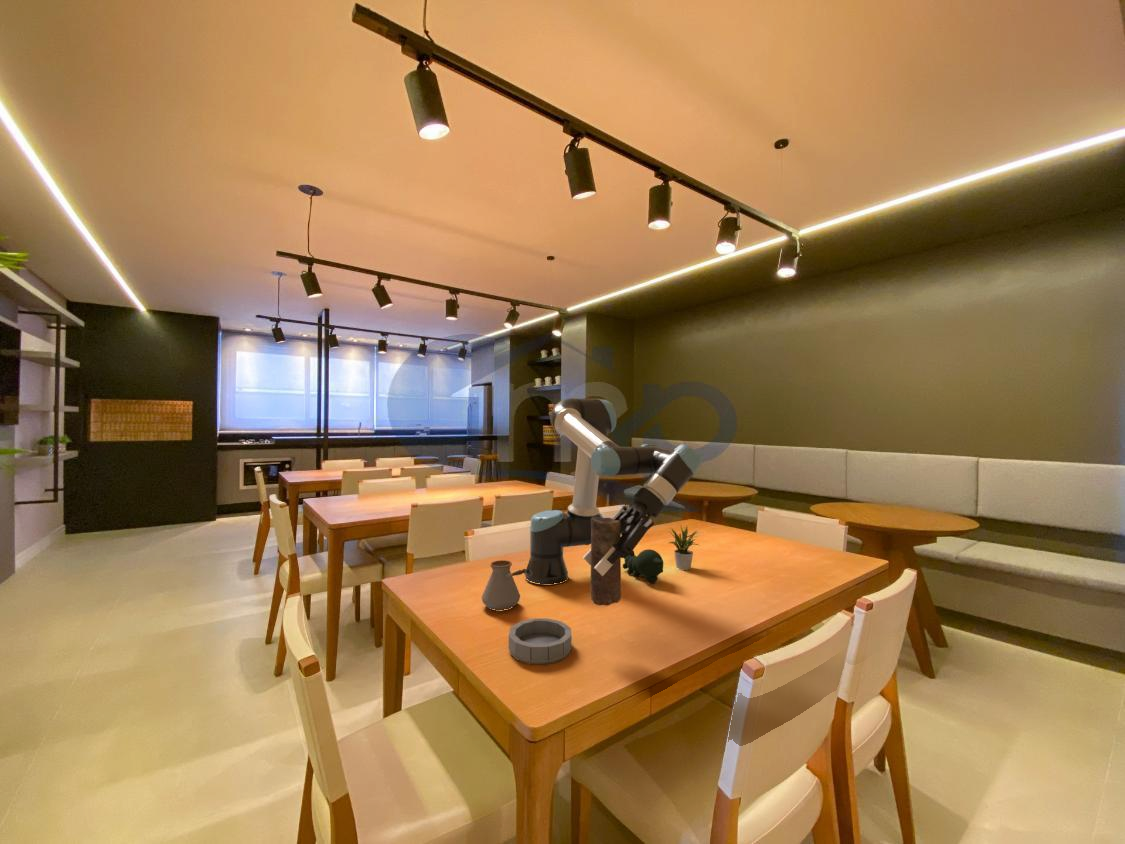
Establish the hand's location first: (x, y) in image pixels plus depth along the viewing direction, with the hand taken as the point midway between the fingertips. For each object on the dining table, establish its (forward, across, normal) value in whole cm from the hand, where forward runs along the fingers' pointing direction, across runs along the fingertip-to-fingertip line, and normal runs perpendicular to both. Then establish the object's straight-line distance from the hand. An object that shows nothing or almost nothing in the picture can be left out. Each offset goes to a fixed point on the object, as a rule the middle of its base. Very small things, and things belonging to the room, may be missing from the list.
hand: (592, 566), depth 107 cm
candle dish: (+23, +5, -6) cm, 24 cm away
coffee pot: (+25, +28, -4) cm, 38 cm away
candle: (+4, 0, -9) cm, 9 cm away
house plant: (-25, +49, -55) cm, 78 cm away
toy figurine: (-10, +45, -40) cm, 62 cm away
